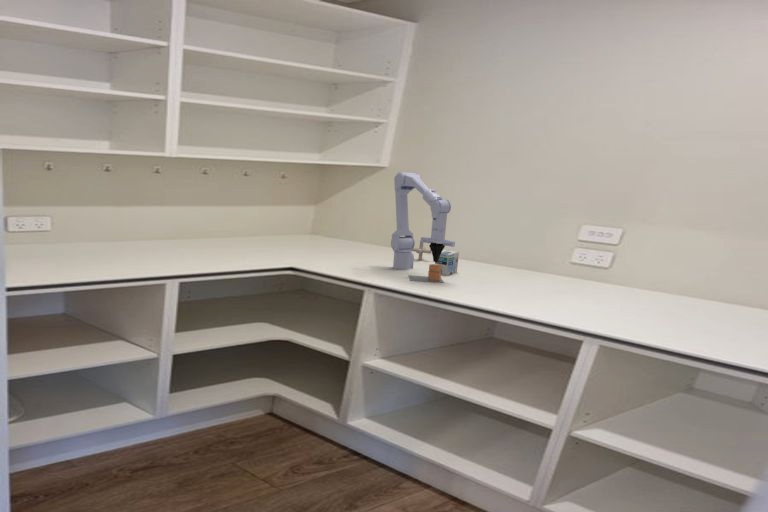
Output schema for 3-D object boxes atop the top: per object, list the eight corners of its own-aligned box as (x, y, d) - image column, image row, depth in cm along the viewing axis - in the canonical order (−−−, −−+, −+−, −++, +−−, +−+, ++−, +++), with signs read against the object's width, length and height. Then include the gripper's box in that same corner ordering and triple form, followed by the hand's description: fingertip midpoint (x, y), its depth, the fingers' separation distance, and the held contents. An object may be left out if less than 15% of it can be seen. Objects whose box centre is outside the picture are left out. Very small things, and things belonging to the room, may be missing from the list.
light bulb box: (447, 278, 228) (449, 254, 225) (433, 276, 231) (435, 252, 229) (457, 275, 236) (459, 251, 234) (443, 272, 240) (446, 249, 238)
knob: (437, 281, 215) (438, 266, 214) (426, 279, 217) (427, 265, 216) (441, 279, 220) (442, 264, 218) (431, 277, 222) (432, 263, 220)
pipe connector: (407, 260, 263) (409, 240, 261) (414, 257, 272) (415, 238, 270) (426, 263, 259) (428, 243, 257) (432, 259, 268) (434, 240, 266)
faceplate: (409, 283, 213) (410, 275, 213) (408, 278, 223) (408, 270, 223) (443, 285, 214) (444, 277, 213) (440, 280, 224) (441, 272, 223)
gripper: (418, 227, 214) (415, 260, 217) (451, 232, 208) (448, 265, 210) (425, 226, 221) (422, 257, 223) (457, 230, 214) (454, 263, 217)
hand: (435, 261), depth 217 cm, fingers closed
